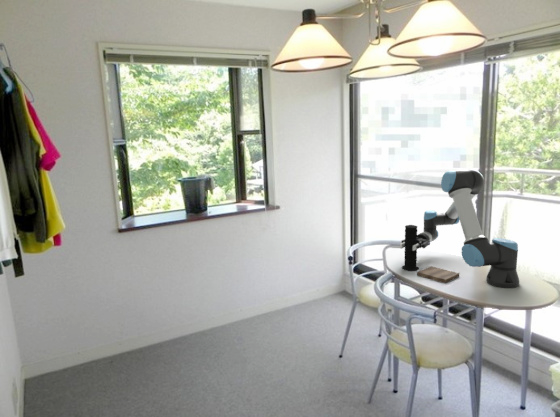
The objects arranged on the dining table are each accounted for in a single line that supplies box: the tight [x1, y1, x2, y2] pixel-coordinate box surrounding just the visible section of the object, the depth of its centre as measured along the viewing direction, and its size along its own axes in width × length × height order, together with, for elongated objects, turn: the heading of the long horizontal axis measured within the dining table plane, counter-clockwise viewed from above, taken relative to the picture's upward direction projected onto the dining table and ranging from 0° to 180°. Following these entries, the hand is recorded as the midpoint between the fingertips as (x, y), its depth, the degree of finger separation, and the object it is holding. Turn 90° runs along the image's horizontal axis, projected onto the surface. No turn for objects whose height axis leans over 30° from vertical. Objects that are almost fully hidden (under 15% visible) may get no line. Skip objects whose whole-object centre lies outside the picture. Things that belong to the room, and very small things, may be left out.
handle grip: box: [401, 224, 420, 272], centre depth 234 cm, size 10×26×10 cm
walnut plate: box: [416, 265, 460, 284], centre depth 222 cm, size 17×14×2 cm
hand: (407, 247), depth 230 cm, fingers closed on handle grip, 7 cm apart
